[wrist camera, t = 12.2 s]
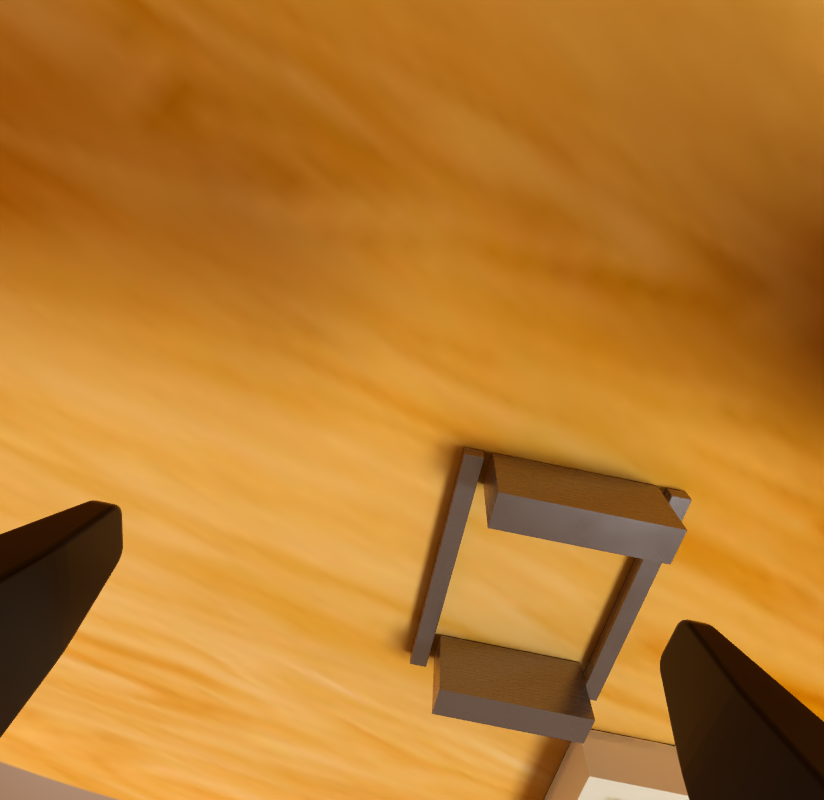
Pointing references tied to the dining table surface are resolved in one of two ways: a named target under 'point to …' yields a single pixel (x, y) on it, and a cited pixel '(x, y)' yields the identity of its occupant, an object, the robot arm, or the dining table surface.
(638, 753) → the parts tray
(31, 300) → the dining table surface
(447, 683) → the grey rectangular open frame
